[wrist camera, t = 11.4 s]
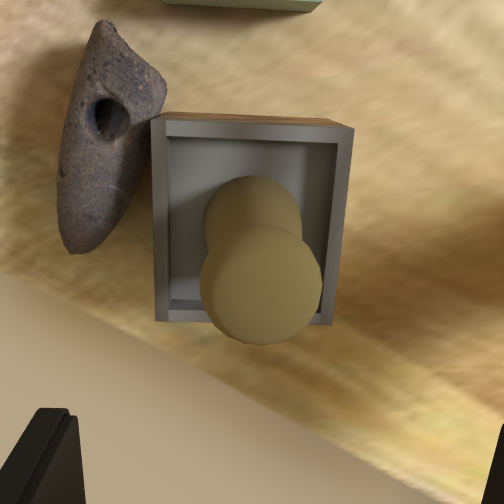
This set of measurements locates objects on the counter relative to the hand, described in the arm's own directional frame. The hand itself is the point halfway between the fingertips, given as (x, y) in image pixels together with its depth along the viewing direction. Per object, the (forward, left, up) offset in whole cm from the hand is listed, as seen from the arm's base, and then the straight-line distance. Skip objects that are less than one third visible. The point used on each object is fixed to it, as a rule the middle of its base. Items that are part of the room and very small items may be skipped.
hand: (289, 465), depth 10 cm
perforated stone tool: (+10, -3, -27) cm, 28 cm away
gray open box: (0, 0, -26) cm, 26 cm away
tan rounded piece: (0, 0, -20) cm, 20 cm away
